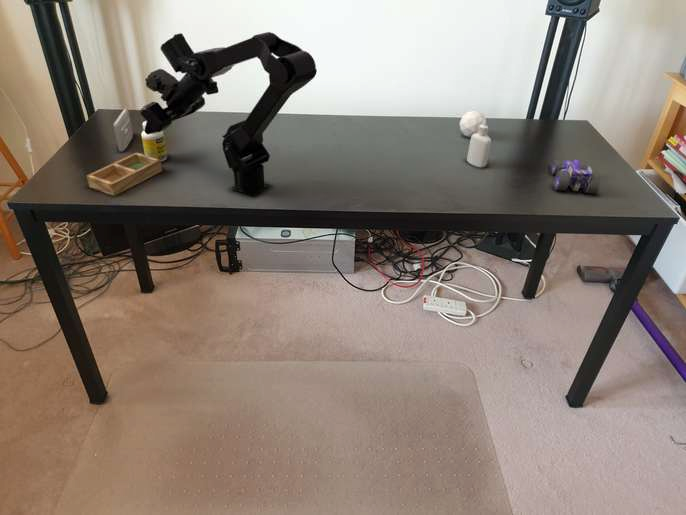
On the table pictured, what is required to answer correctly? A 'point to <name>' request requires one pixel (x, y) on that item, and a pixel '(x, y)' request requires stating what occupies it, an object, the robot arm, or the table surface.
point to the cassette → (123, 130)
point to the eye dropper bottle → (479, 147)
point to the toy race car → (574, 176)
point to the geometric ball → (471, 123)
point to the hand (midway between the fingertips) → (157, 126)
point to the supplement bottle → (154, 144)
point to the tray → (124, 173)
